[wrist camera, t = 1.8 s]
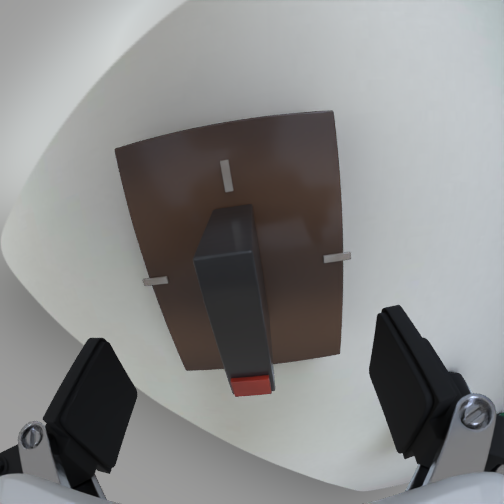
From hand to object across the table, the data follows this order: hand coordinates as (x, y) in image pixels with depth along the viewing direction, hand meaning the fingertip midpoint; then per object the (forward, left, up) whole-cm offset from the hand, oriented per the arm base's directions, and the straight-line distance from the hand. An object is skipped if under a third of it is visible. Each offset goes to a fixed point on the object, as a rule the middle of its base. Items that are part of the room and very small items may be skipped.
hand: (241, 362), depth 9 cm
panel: (0, 0, -9) cm, 9 cm away
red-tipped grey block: (0, 0, -6) cm, 6 cm away
